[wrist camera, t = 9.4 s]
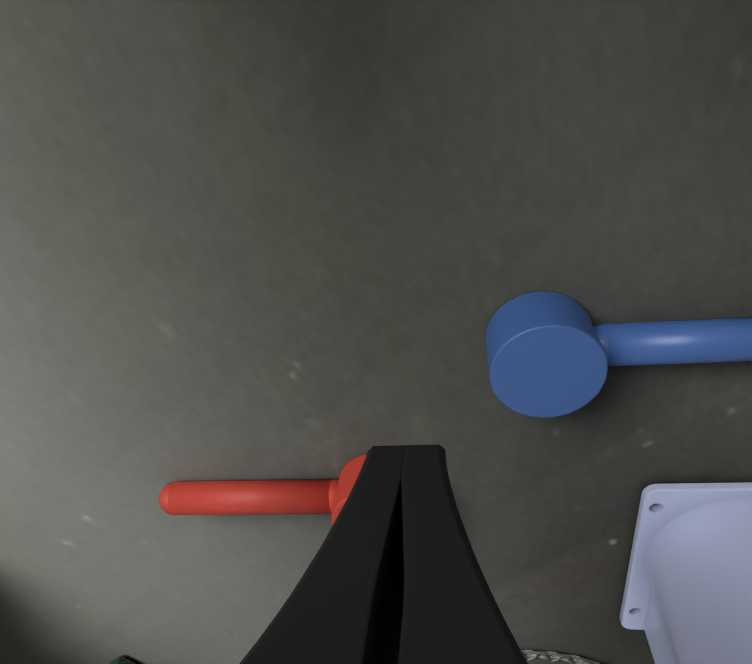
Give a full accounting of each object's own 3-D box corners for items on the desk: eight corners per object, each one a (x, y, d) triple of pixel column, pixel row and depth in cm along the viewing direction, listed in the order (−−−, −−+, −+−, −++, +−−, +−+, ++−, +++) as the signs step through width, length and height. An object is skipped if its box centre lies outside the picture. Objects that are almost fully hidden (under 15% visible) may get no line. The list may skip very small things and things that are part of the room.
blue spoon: (866, 272, 18) (916, 308, 16) (830, 368, 19) (871, 410, 18) (484, 293, 19) (489, 328, 17) (485, 379, 21) (489, 419, 19)
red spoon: (179, 513, 27) (160, 553, 25) (154, 456, 25) (131, 496, 23) (426, 511, 25) (425, 554, 23) (420, 450, 23) (418, 492, 21)
